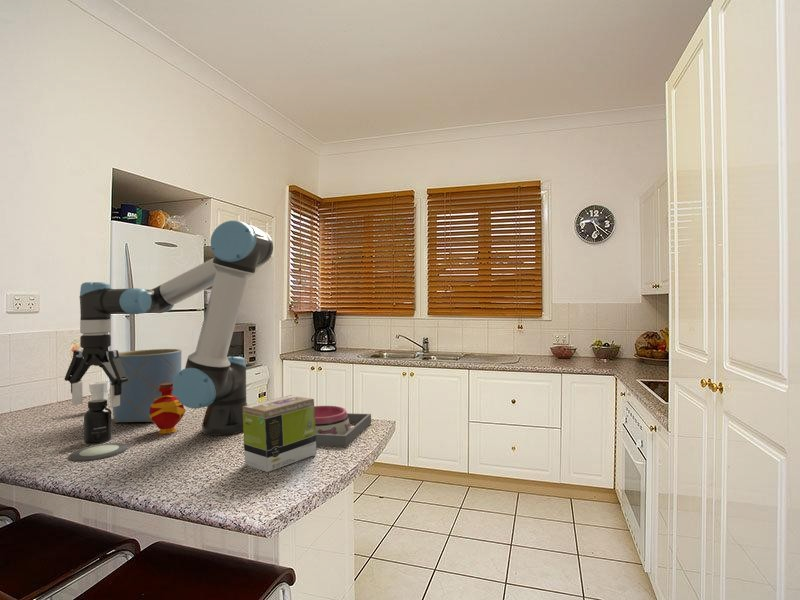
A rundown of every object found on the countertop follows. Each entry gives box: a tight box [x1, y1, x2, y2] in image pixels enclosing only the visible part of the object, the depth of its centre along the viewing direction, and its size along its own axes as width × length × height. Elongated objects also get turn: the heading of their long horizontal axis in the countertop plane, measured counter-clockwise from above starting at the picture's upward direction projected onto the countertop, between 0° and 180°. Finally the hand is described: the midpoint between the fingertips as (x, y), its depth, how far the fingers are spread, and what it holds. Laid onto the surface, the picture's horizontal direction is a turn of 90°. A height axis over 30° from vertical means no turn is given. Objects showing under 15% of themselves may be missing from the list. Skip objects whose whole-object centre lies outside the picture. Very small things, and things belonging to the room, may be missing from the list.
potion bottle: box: [149, 383, 186, 435], centre depth 142 cm, size 10×10×15 cm
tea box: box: [243, 394, 318, 473], centre depth 112 cm, size 15×10×15 cm, turn 141°
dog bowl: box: [314, 405, 352, 435], centre depth 136 cm, size 18×19×7 cm
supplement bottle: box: [83, 399, 112, 445], centre depth 133 cm, size 7×7×12 cm
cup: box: [88, 380, 111, 409], centre depth 173 cm, size 7×7×11 cm
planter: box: [109, 348, 183, 424], centre depth 161 cm, size 23×23×24 cm
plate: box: [69, 442, 128, 462], centre depth 122 cm, size 13×13×1 cm
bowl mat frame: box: [316, 412, 372, 448], centre depth 136 cm, size 24×24×3 cm
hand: (96, 405), depth 133 cm, fingers open, 13 cm apart
